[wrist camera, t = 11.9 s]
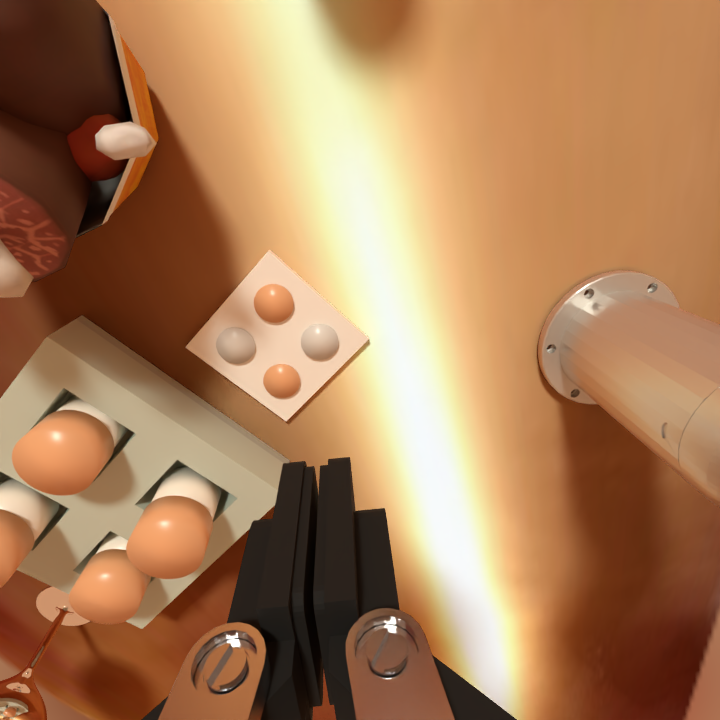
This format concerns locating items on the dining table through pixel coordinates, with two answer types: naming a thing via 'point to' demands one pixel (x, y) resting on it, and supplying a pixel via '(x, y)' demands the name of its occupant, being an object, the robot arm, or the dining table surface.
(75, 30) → the bucket of meat
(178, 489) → the button
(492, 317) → the dining table surface
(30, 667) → the wineglass
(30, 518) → the button
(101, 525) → the board
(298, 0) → the dining table surface
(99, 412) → the button
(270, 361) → the pattern tile
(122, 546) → the button
